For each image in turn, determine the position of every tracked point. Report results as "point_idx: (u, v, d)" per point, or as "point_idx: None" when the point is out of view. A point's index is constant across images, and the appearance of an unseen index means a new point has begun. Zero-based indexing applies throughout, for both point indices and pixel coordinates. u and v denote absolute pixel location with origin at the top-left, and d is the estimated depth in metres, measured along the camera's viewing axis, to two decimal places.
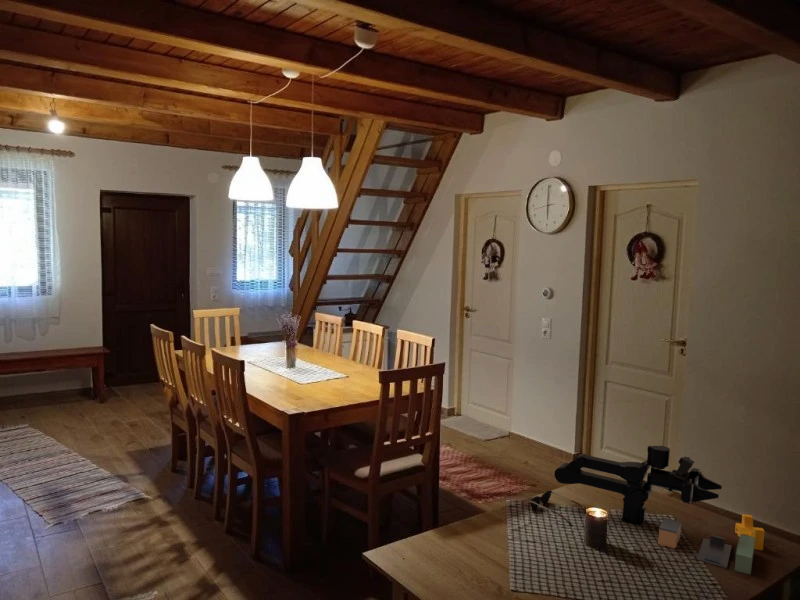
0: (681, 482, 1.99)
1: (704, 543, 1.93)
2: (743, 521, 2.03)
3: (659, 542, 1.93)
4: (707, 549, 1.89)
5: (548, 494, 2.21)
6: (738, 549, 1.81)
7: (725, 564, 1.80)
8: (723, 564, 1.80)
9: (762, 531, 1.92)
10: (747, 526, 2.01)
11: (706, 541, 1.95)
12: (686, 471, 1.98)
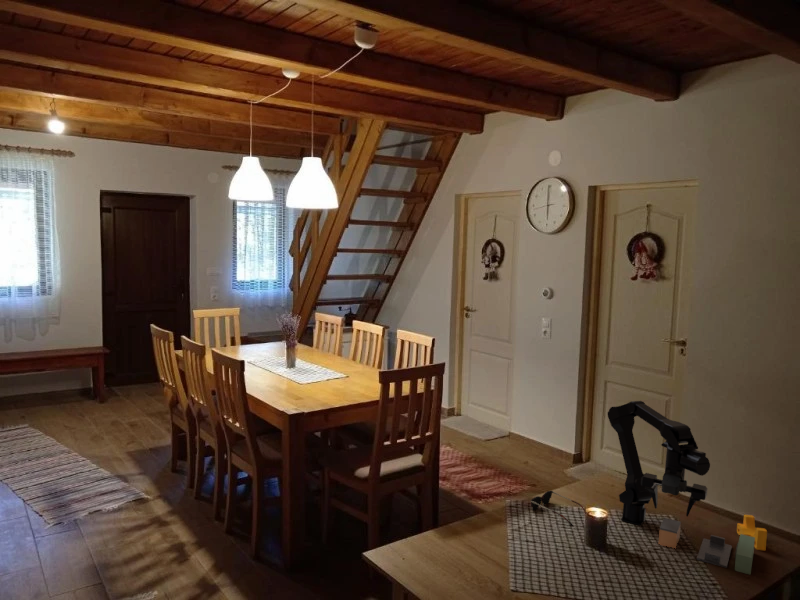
0: None
1: (704, 543, 1.93)
2: (745, 521, 2.02)
3: (659, 542, 1.93)
4: (707, 549, 1.89)
5: (549, 494, 2.21)
6: (738, 549, 1.81)
7: (725, 564, 1.80)
8: (723, 564, 1.80)
9: (765, 531, 1.92)
10: (749, 526, 2.01)
11: (706, 541, 1.95)
12: None
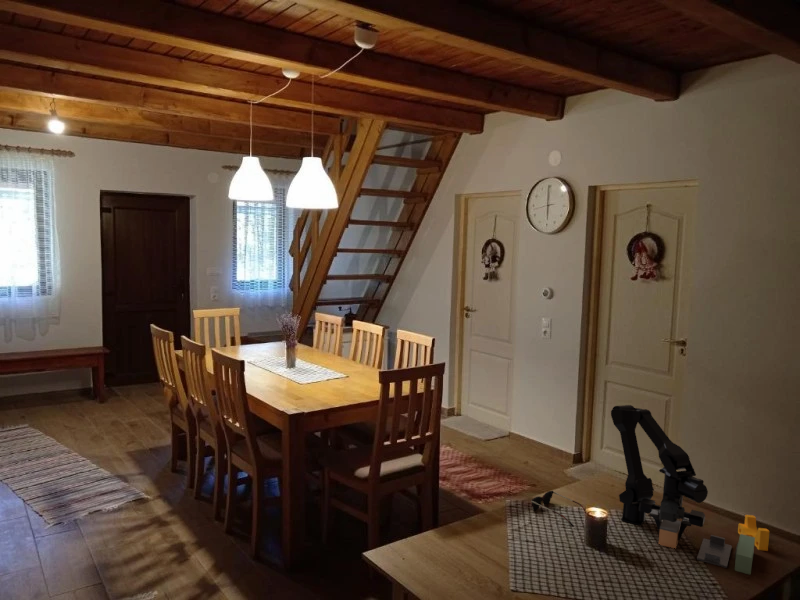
0: None
1: (704, 543, 1.93)
2: (746, 521, 2.02)
3: (659, 542, 1.93)
4: (707, 549, 1.89)
5: (549, 494, 2.21)
6: (738, 549, 1.81)
7: (725, 564, 1.80)
8: (723, 564, 1.80)
9: (767, 532, 1.91)
10: (751, 526, 2.01)
11: (706, 541, 1.95)
12: None
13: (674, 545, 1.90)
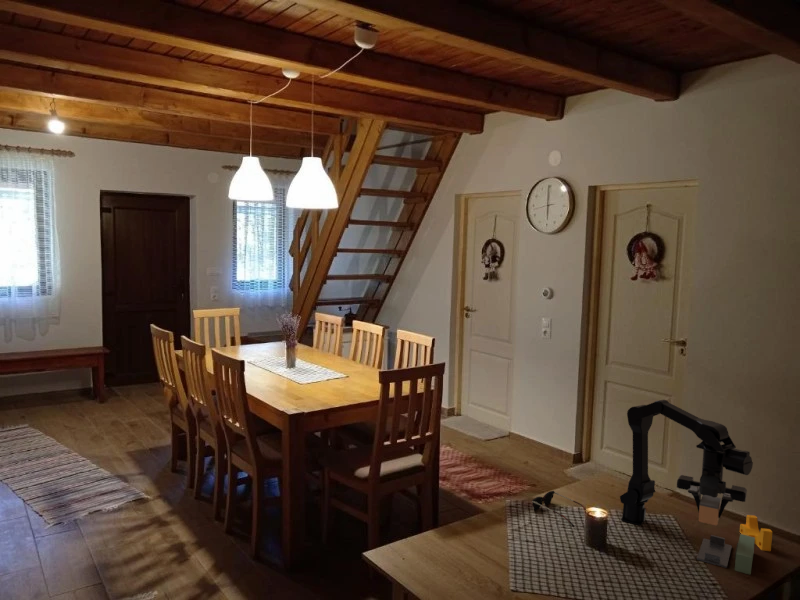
0: None
1: (704, 543, 1.93)
2: (748, 522, 2.02)
3: (699, 519, 1.86)
4: (707, 549, 1.89)
5: (550, 494, 2.21)
6: (738, 549, 1.81)
7: (725, 564, 1.80)
8: (723, 564, 1.80)
9: (770, 532, 1.91)
10: (752, 527, 2.00)
11: (706, 541, 1.95)
12: None
13: (715, 522, 1.84)
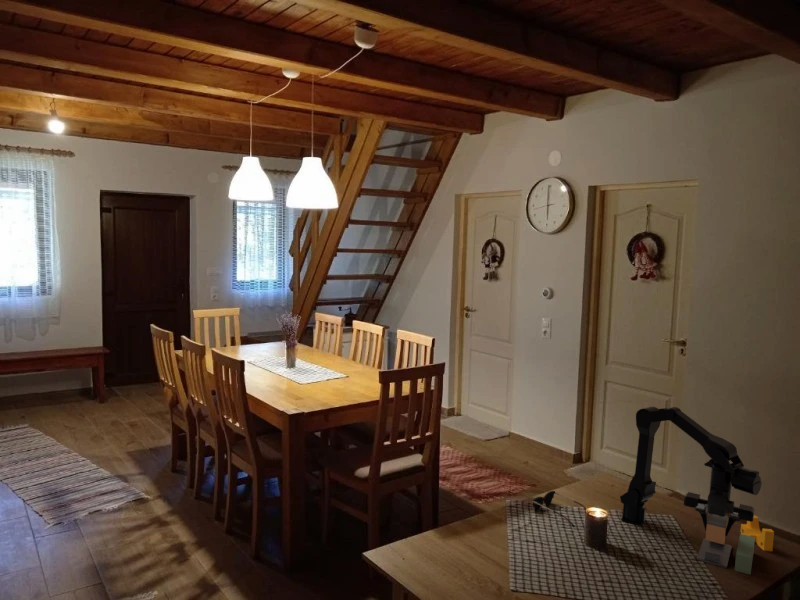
0: None
1: (704, 543, 1.93)
2: (749, 522, 2.02)
3: (706, 537, 1.85)
4: (707, 549, 1.89)
5: (551, 495, 2.21)
6: (738, 549, 1.81)
7: (725, 564, 1.80)
8: (723, 564, 1.80)
9: (771, 532, 1.91)
10: (753, 527, 2.00)
11: (706, 541, 1.95)
12: None
13: (722, 540, 1.83)
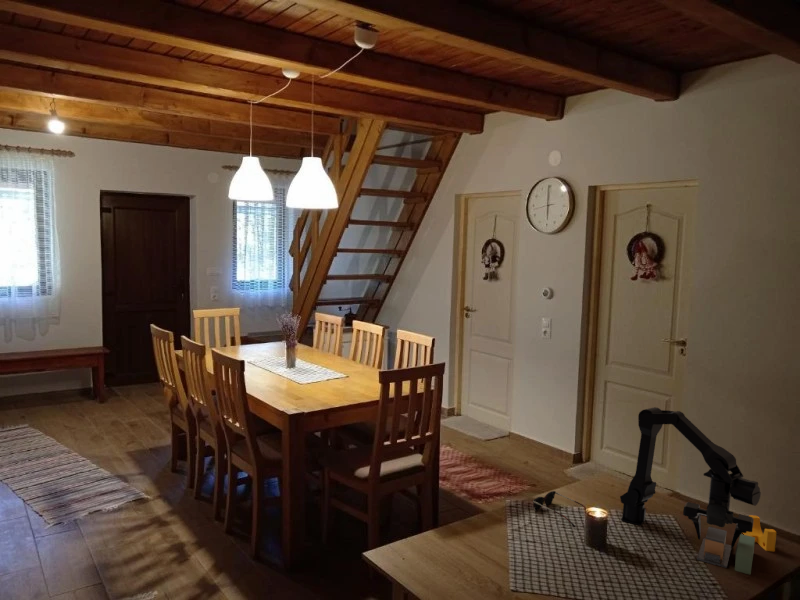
0: None
1: (704, 543, 1.93)
2: None
3: None
4: None
5: (552, 495, 2.21)
6: (738, 549, 1.81)
7: (725, 564, 1.80)
8: (723, 564, 1.80)
9: (774, 532, 1.91)
10: (755, 527, 2.00)
11: None
12: None
13: (721, 556, 1.83)
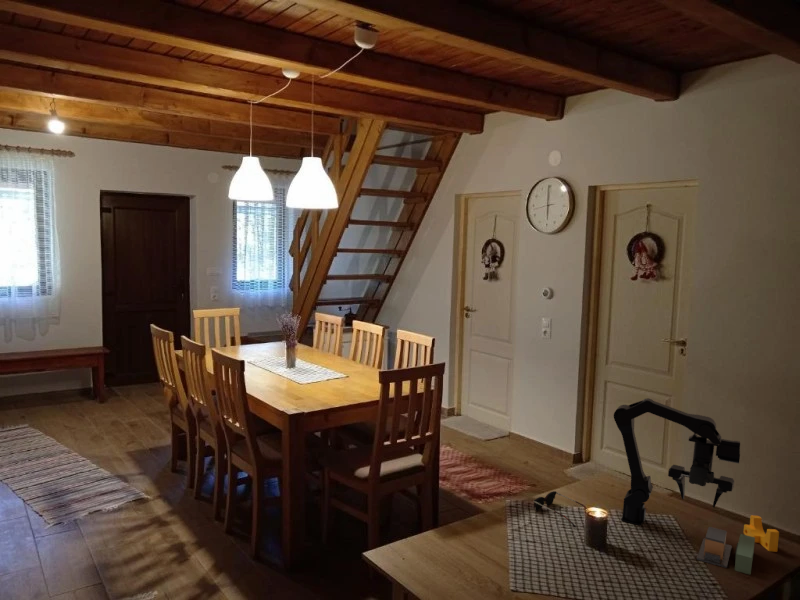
0: None
1: (704, 543, 1.93)
2: (752, 522, 2.02)
3: None
4: None
5: (552, 495, 2.20)
6: (738, 549, 1.81)
7: (725, 564, 1.80)
8: (723, 564, 1.80)
9: (776, 532, 1.91)
10: (757, 527, 2.00)
11: None
12: None
13: (721, 556, 1.83)
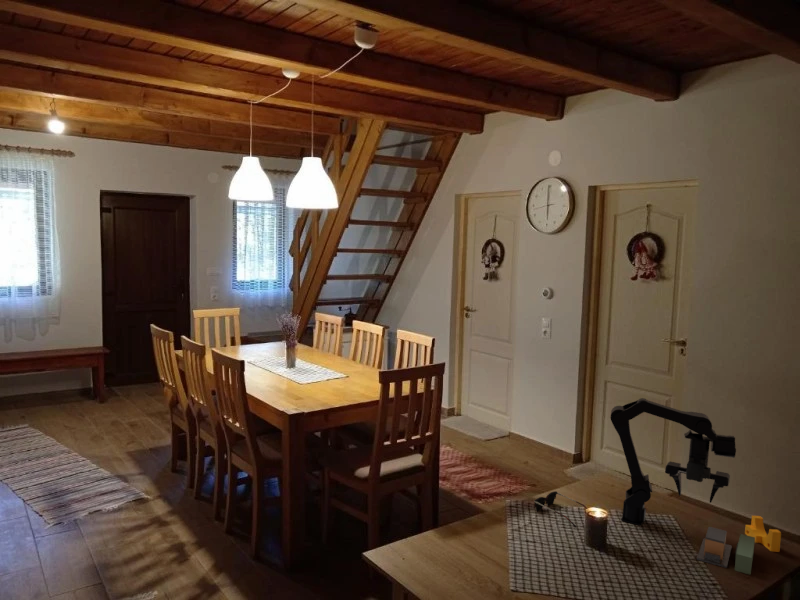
0: None
1: (704, 543, 1.93)
2: (753, 523, 2.02)
3: None
4: None
5: (553, 495, 2.20)
6: (738, 549, 1.81)
7: (725, 564, 1.80)
8: (723, 564, 1.80)
9: (779, 533, 1.91)
10: (758, 527, 2.00)
11: None
12: None
13: (721, 556, 1.83)
